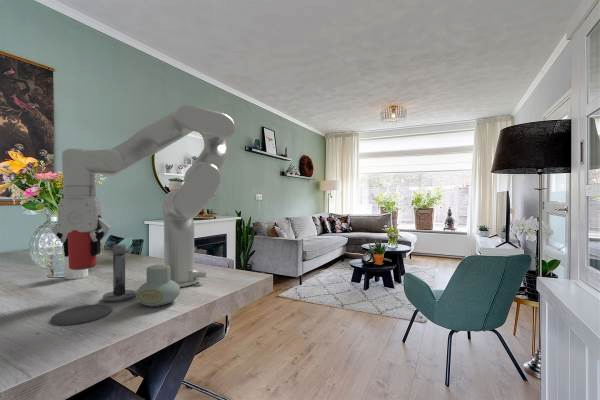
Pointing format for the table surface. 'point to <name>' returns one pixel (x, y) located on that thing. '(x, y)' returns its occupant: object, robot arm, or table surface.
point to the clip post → (118, 282)
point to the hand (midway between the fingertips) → (82, 254)
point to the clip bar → (122, 246)
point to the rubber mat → (81, 314)
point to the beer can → (80, 251)
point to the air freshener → (158, 287)
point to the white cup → (73, 273)
